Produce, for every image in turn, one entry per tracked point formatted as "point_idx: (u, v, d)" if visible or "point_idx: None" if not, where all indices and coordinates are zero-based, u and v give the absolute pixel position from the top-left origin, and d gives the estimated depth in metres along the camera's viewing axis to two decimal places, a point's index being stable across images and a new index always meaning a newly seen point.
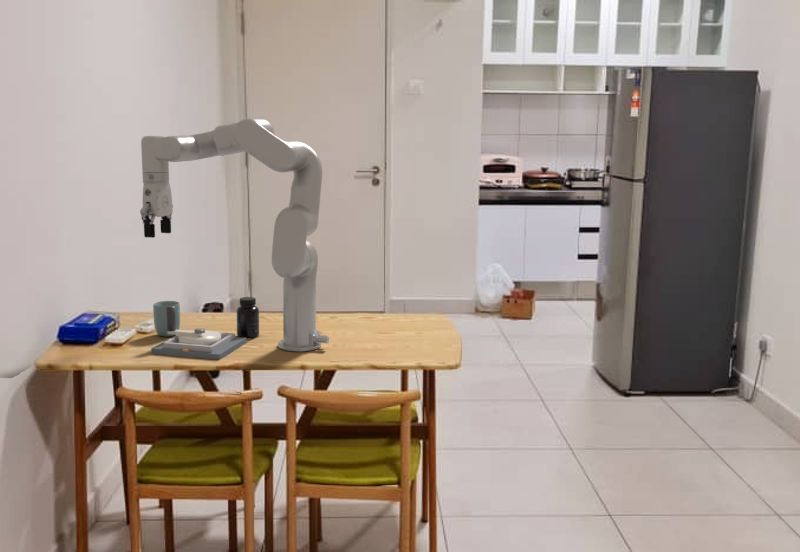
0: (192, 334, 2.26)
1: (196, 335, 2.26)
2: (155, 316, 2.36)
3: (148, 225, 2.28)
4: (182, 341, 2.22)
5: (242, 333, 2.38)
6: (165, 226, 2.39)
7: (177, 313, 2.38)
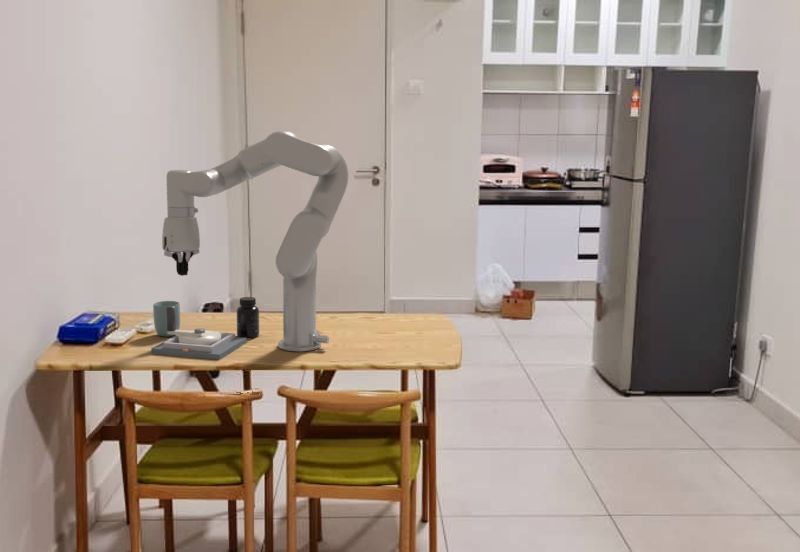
0: (192, 334, 2.26)
1: (196, 335, 2.26)
2: (155, 316, 2.36)
3: None
4: (182, 341, 2.22)
5: (242, 333, 2.38)
6: None
7: (177, 313, 2.38)
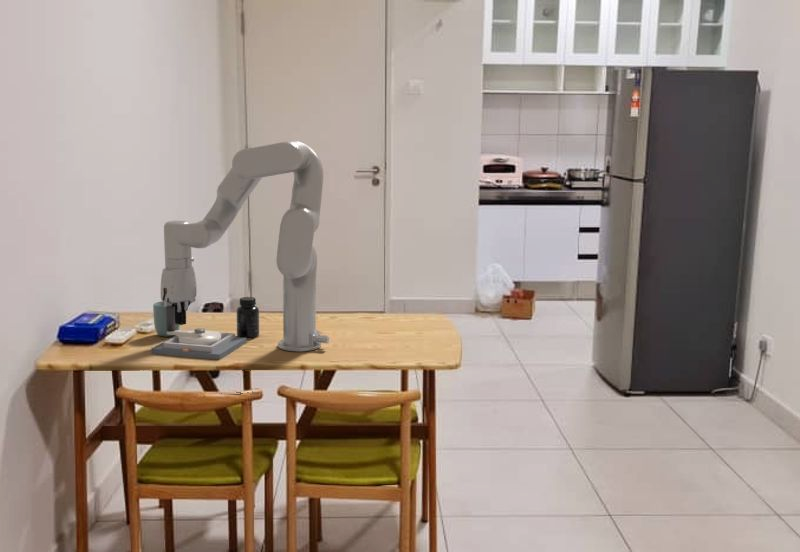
0: (192, 334, 2.26)
1: (196, 335, 2.26)
2: (155, 316, 2.36)
3: None
4: (183, 341, 2.22)
5: (242, 333, 2.38)
6: None
7: None
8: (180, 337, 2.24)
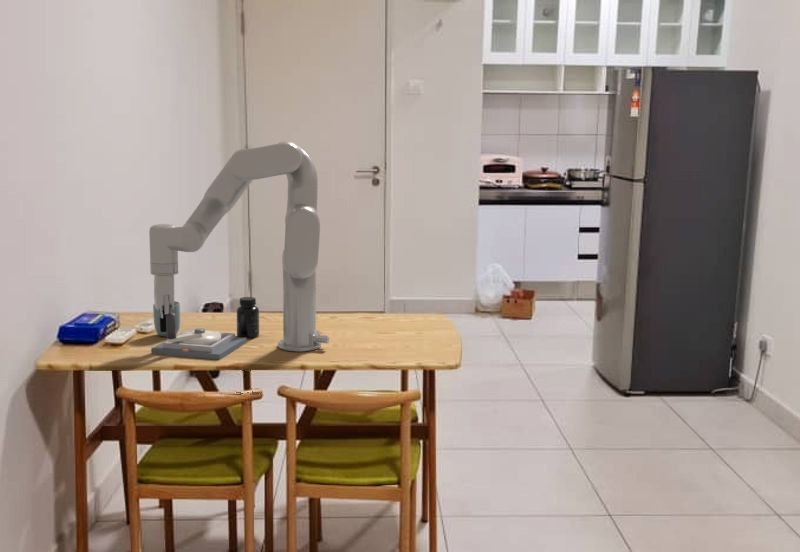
0: (196, 335, 2.25)
1: (200, 335, 2.26)
2: (155, 316, 2.36)
3: None
4: (201, 342, 2.21)
5: (242, 333, 2.38)
6: None
7: (177, 313, 2.38)
8: (191, 340, 2.21)
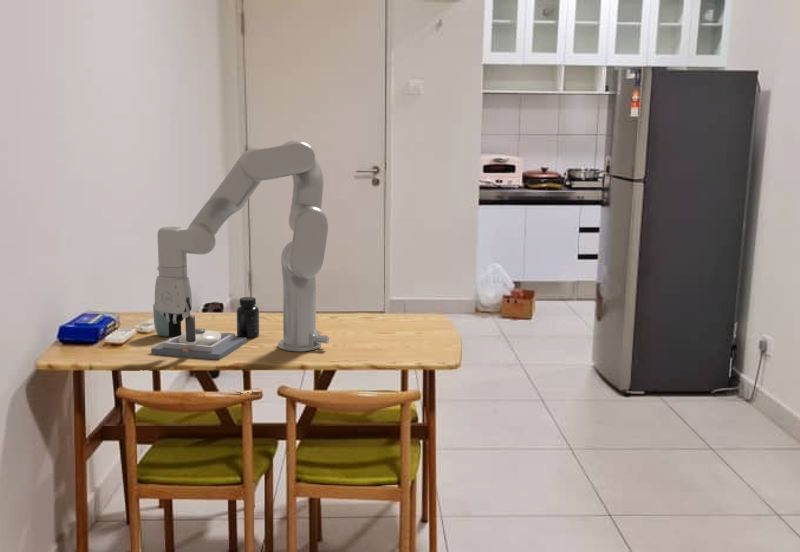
0: (201, 335, 2.25)
1: (202, 335, 2.26)
2: (155, 316, 2.36)
3: None
4: (215, 340, 2.24)
5: (242, 333, 2.38)
6: None
7: None
8: (206, 340, 2.22)
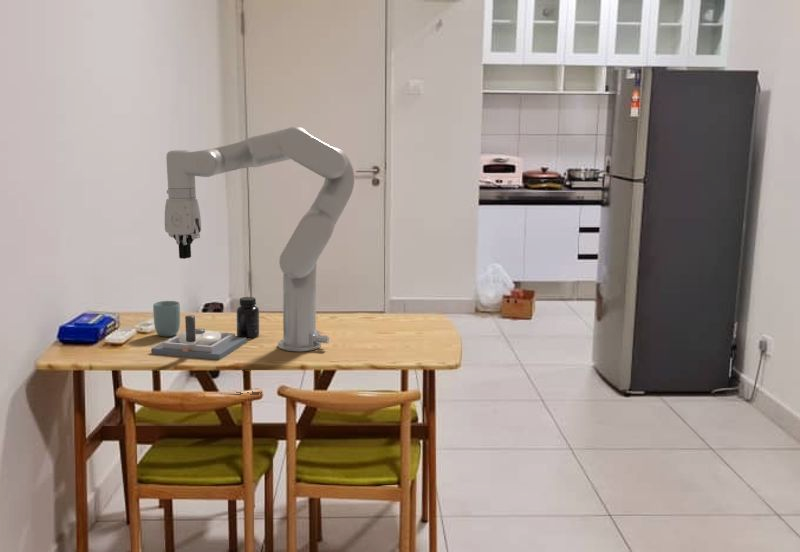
0: (201, 335, 2.25)
1: (202, 335, 2.26)
2: (155, 316, 2.36)
3: None
4: (215, 340, 2.24)
5: (242, 333, 2.38)
6: None
7: (177, 313, 2.38)
8: (206, 340, 2.22)
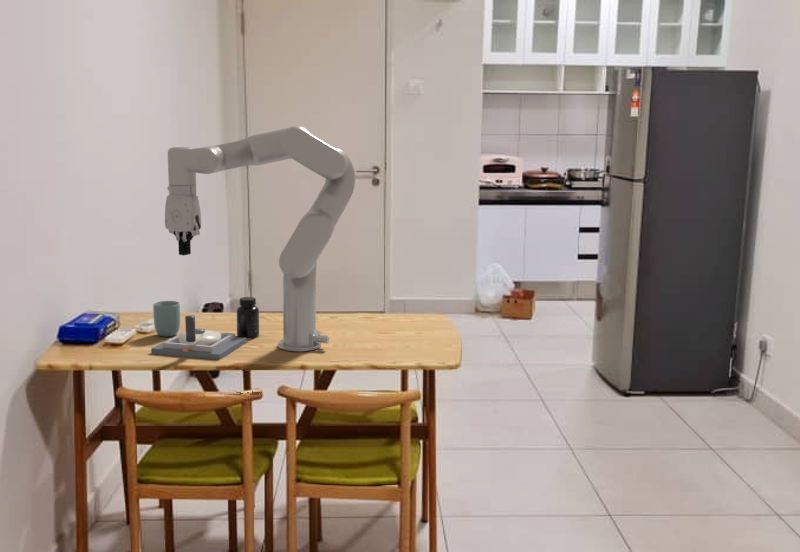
0: (201, 335, 2.25)
1: (202, 335, 2.26)
2: (155, 316, 2.36)
3: None
4: (215, 340, 2.24)
5: (242, 333, 2.38)
6: None
7: (177, 313, 2.38)
8: (206, 340, 2.22)
